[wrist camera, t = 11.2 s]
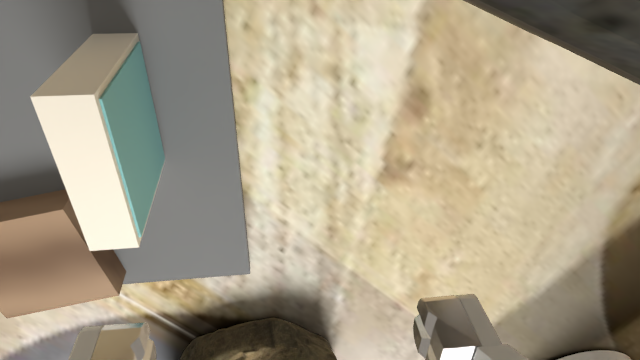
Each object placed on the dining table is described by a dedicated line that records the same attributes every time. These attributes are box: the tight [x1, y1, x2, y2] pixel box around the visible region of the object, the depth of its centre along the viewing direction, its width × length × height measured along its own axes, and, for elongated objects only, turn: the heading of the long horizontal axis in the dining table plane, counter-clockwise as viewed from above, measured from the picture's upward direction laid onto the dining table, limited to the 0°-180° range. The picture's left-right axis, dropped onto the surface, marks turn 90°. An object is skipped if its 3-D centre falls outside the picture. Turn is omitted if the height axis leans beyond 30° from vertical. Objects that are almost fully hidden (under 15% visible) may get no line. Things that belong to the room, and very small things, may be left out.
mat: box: [0, 0, 250, 284], centre depth 23 cm, size 22×18×1 cm
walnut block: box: [0, 189, 126, 318], centre depth 26 cm, size 7×7×2 cm
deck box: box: [30, 33, 165, 251], centre depth 19 cm, size 7×2×7 cm, turn 179°
